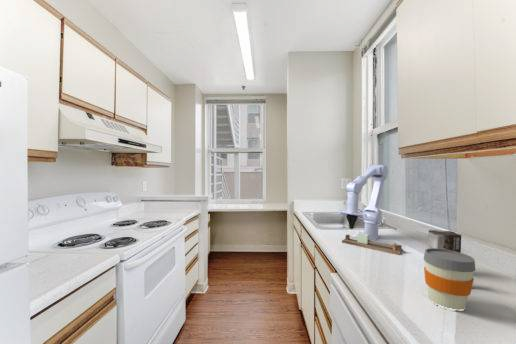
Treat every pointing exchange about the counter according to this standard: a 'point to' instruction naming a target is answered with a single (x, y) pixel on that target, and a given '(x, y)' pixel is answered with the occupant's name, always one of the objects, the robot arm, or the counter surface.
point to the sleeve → (363, 238)
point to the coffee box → (444, 240)
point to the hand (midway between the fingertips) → (351, 228)
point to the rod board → (375, 245)
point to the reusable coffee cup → (448, 277)
